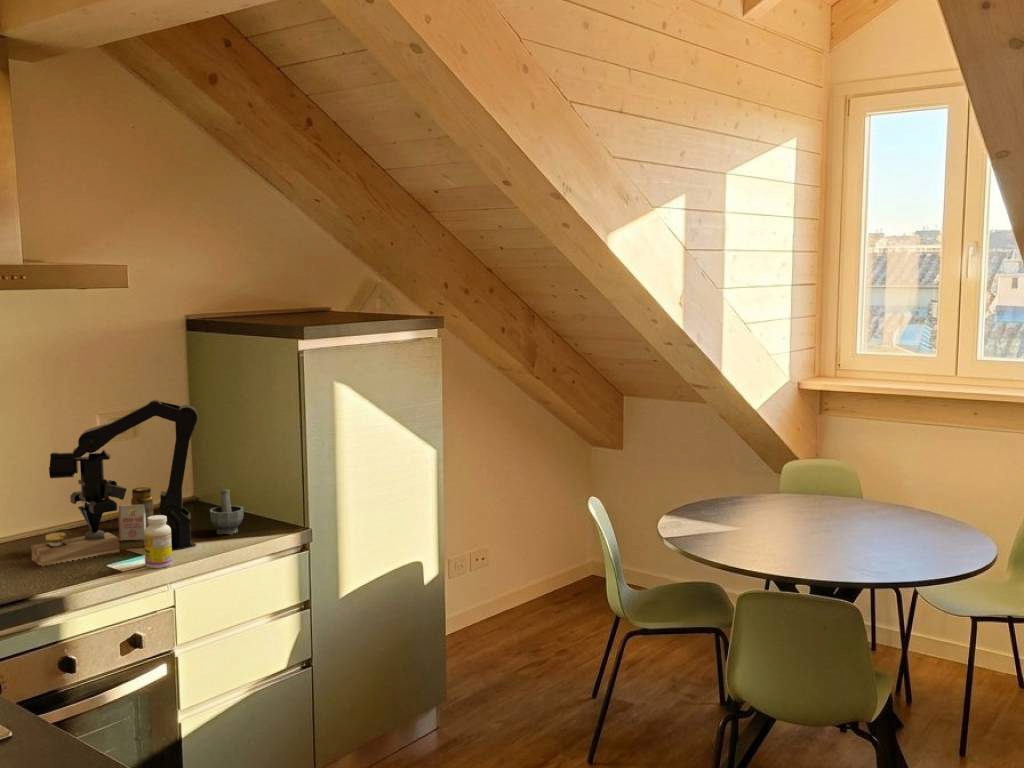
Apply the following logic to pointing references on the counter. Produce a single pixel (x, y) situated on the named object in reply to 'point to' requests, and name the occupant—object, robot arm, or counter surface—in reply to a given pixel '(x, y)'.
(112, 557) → the counter surface
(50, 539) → the brass plug
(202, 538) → the counter surface
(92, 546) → the oak block
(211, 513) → the mortar and pestle
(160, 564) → the supplement bottle
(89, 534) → the grey domed piece
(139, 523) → the white printed box
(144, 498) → the condiment
